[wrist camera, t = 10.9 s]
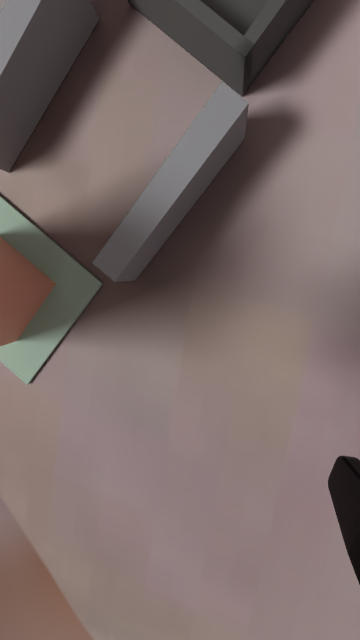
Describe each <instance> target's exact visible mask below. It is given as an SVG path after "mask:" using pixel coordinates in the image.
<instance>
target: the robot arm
mask: <svg viewBox="0 0 360 640" xmlns="http://www.w3.org/2000/svg"><path fill="white" fill-rule="evenodd" d="M328 487H329V491H330V494H331V498H332V501H333V505H334V508H335V512H336V515H337V519H338V522H339V526H340V529H341V533H342V536H343V539H344V543H345V546H346V549H347V552H348V555H349V558H350V560H351V563H352V566H353V569H354V571H355V574H356V576H357V579H358V581H359V584H360V460H359V459H357V458H355V457H349V456H339V457H338V458H337V459H336V462H335V464H334V466H333V469H332V471H331V473H330V476H329V479H328Z"/></svg>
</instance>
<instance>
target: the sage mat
mask: <svg viewBox="0 0 360 640" xmlns="http://www.w3.org/2000/svg"><path fill="white" fill-rule="evenodd" d="M0 237H2V238H3V239H4V240H5V241H6V242H7V243H9V244H10V245H11V246H12V247H13V248H15V249H16V250H17V251H18V252H19V253H20V254H22V255H23V256H24V257H25V258H26V259H27V260H29V261H30V262H31V263H32V264H33V265H35V266H36V267H37V268H38V269H39V270H40V271H42V272H43V273H44V274H45V275H46V276H47V277H49V278H50V279H51V280H52V281H53V282H55V283H56V285H55V286H54V288H53V289H52V290H51V292H50V293H49V295H48V296H47V298H46V299H45V301H44V302H43V304H42V305H41V306H40V308H39V309H38V311H37V312H36V314H35V315H34V317H33V318H32V319H31V321H30V322H29V324H28V325H27V327H26V328H25V330H24V331H23V333H22V334H21V335H20V337H19V338H18V340H17V341H16V342H12V343H9V344H6V345H3V346H0V361H1V362H2V363H3V364H4V365H5V366H6V367H7V368H9V369H10V370H11V371H12V372H13V373H14V374H15V375H17V376H18V377H19V378H20V379H21V380H22V381H23V382H25V383H26V384H27V385H28V384H29V383H30V382H31V380H32V379H33V378H34V376H35V375H36V374H37V372H38V371H39V370H40V368H41V367H42V366H43V364H44V363H45V361H46V360H47V359H48V357H49V356H50V355H51V353H52V352H53V351H54V349H55V348H56V347H57V345H58V344H59V343H60V341H61V340H62V339H63V337H64V336H65V335H66V333H67V332H68V330H69V329H70V328H71V326H72V325H73V324H74V322H75V321H76V320H77V318H78V317H79V316H80V314H81V313H82V312H83V310H84V309H85V308H86V306H87V305H88V304H89V302H90V301H91V300H92V298H93V297H94V295H95V294H96V293H97V291H98V290H99V289H100V287H101V286H102V285H103V283H102V282H101V281H99V280H98V279H97V278H96V277H95V276H94V275H92V274H91V273H90V272H89V271H88V270H87V269H85V268H84V267H83V266H82V265H81V264H80V263H78V262H77V261H76V260H75V259H74V258H73V257H71V256H70V255H69V254H68V253H67V252H66V251H64V250H63V249H62V248H61V247H60V246H59V245H57V244H56V243H55V242H54V241H53V240H52V239H50V238H49V237H48V236H47V235H46V234H45V233H43V232H42V231H41V230H40V229H39V228H37V227H36V226H35V225H34V224H33V223H32V222H30V221H29V220H28V219H27V218H26V217H25V216H23V215H22V214H21V213H20V212H19V211H18V210H16V209H15V208H14V207H13V206H12V205H11V204H9V203H8V202H7V201H6V200H5V199H4V198H2V197H1V196H0Z"/></svg>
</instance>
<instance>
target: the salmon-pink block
mask: <svg viewBox="0 0 360 640" xmlns="http://www.w3.org/2000/svg"><path fill="white" fill-rule="evenodd" d="M55 285H56V283H55V282H53V281H52V280H51V279H50V278H49V277H47V276H46V275H45V274H44V273H43V272H42V271H40V270H39V269H38V268H37V267H36V266H35V265H33V264H32V263H31V262H30V261H29V260H27V259H26V258H25V257H24V256H23V255H22V254H20V253H19V252H18V251H17V250H16V249H15V248H13V247H12V246H11V245H10V244H9V243H7V242H6V241H5V240H4V239H3V238H2V237H0V346H3V345H6V344H9V343H12V342H16V341H17V340H18V338H19V337H20V335H21V334H22V333H23V331H24V330H25V328H26V327H27V325H28V324H29V322H30V321H31V319H32V318H33V317H34V315H35V314H36V312H37V311H38V309H39V308H40V306H41V305H42V304H43V302H44V301H45V299H46V298H47V296H48V295H49V293H50V292H51V290H52V289H53V288H54V286H55Z"/></svg>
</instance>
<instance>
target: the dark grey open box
mask: <svg viewBox="0 0 360 640" xmlns="http://www.w3.org/2000/svg"><path fill="white" fill-rule="evenodd" d="M128 2H129V4H130V5H131V6H133V7H134V8H135V9H136V10H137V11H139V12H140V13H141V14H142V15H144V16H145V17H146V18H147V19H148V20H150V21H151V22H152V23H153V24H154V25H156V26H157V27H158V28H159V29H161V30H162V31H163V32H164V33H165V34H167V35H168V36H169V37H170V38H171V39H173V40H174V41H175V42H176V43H178V44H179V45H180V46H181V47H182V48H184V49H185V50H186V51H187V52H189V53H190V54H191V55H192V56H193V57H195V58H196V59H197V60H198V61H199V62H201V63H202V64H203V65H204V66H206V67H207V68H208V69H209V70H210V71H212V72H213V73H214V74H215V75H217V76H218V77H219V78H220V79H221V80H223V81H224V82H225V83H226V84H227V85H229V86H230V87H231V88H232V89H234V90H235V91H236V92H237V93H238V94H240V95H241V96H243V95H244V93H245V92H246V91H247V89H248V88H249V87H250V85H251V84H252V83H253V81H254V80H255V79H256V77H257V76H258V75H259V73H260V72H261V70H262V69H263V68H264V66H265V65H266V64H267V62H268V61H269V60H270V58H271V57H272V56H273V54H274V53H275V52H276V50H277V49H278V48H279V46H280V45H281V44H282V42H283V41H284V40H285V38H286V37H287V35H288V34H289V33H290V31H291V30H292V29H293V27H294V26H295V25H296V23H297V22H298V21H299V19H300V18H301V17H302V15H303V14H304V13H305V11H306V10H307V9H308V7H309V6H310V4H311V3H312V2H313V0H128Z"/></svg>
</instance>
